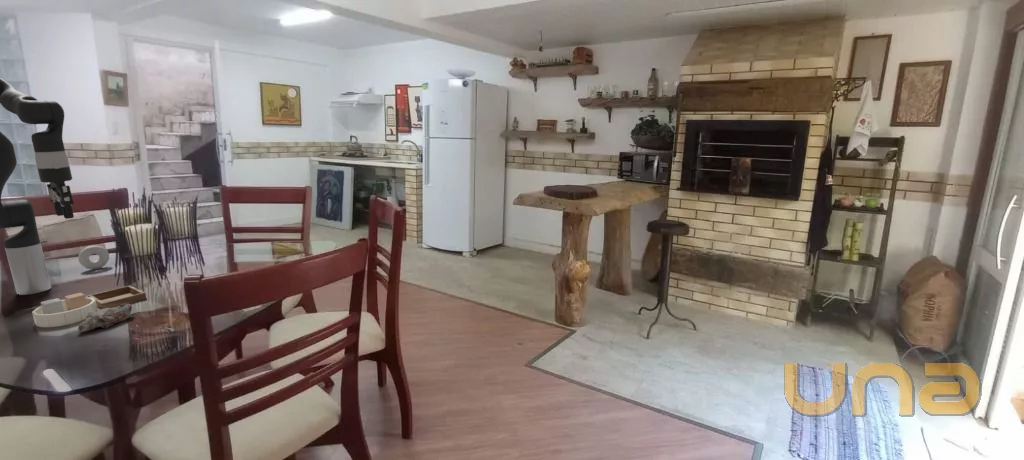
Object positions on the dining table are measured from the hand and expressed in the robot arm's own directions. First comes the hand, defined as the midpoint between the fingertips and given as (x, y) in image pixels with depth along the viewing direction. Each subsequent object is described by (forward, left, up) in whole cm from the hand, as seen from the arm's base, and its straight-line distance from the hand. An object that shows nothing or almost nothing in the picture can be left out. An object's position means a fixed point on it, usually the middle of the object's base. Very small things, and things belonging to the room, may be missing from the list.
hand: (65, 216), depth 159 cm
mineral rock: (+26, -2, -31) cm, 40 cm away
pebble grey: (+10, -10, -30) cm, 33 cm away
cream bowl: (+10, -7, -30) cm, 32 cm away
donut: (-48, +16, -30) cm, 59 cm away
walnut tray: (+5, +7, -30) cm, 31 cm away
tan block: (+10, -4, -30) cm, 31 cm away
